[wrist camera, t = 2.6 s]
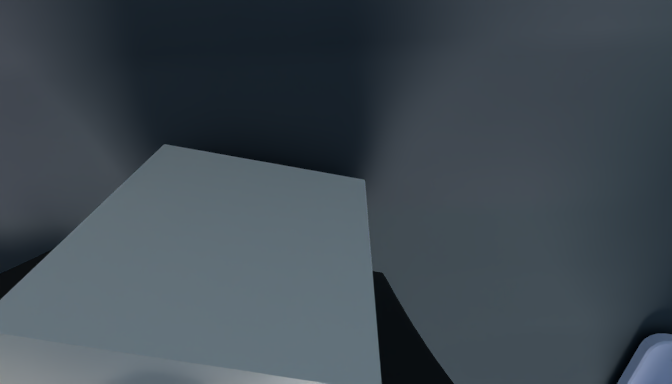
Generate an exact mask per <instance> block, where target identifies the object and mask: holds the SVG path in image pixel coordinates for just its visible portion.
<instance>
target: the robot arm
mask: <svg viewBox="0 0 672 384" xmlns="http://www.w3.org/2000/svg"><path fill="white" fill-rule="evenodd" d="M51 251H52V250H51ZM51 251H49V252H46V253H44V254H42V255H40V256H38V257H36V258H34V259H32V260H29V261H27V262H25V263H23V264H21V265H19V266H17V267H14V268H12V269H10V270H8V271H6V272H3V273H1V274H0V300H1V299H2V298H3V297H4V296H5V295H6V294H7V293H8V292H9V291H10V290H11V289H12V288H13V287H14V286H15V285H16V284H17V283H18V282H20V281H21V280H22V279H23V278H24V277H25V276H26V275H27V274H28V273H29V272H30V271H31V270H32V269H33V268H34V267H35V266H36V265H37V264H38V263H40V262H41V261H42V260H43V259H44V258H45V257H46V256H47V255H48V254H49V253H50V252H51ZM372 272H373V284H374V296H375V309H376V321H377V333H378V345H379V357H380V370H381V382H382V384H454V383H453V382H452V381H451V379H450V378H449V377H448V375H447V374H446V373H445V371H444V370H443V368H442V367H441V366H440V364H439V363H438V362H437V360H436V359H435V357H434V356H433V354H432V353H431V352H430V350H429V349H428V347H427V346H426V344H425V343H424V341H423V339H422V338H421V336H420V335H419V333H418V332H417V330H416V329H415V327H414V326H413V324H412V322H411V321H410V319H409V318H408V316H407V314H406V313H405V311H404V309H403V307H402V306H401V304H400V302H399V301H398V299H397V297H396V295H395V294H394V292H393V290H392V288H391V286H390V285H389V283H388V281H387V279H386V278H385V276H384V275H383V273H380V272H374V271H372ZM617 384H672V334H666V333H657V334H653V335H650V336H648V337H647V338H645V339H644V340H643V341H642V342H641V344H640V345H639V347H638V349H637V350H636V352H635V354H634V355H633V357H632V359H631V361H630V362H629V364H628V366H627V367H626V369H625V371H624V372H623V374H622V376H621V378H620V379H619V381H618V383H617Z"/></svg>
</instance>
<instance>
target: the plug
mask: <svg viewBox="0 0 672 384" xmlns="http://www.w3.org/2000/svg"><path fill="white" fill-rule="evenodd" d="M0 384H382V382H381V370H380V357H379V345H378V333H377V321H376V309H375V296H374V284H373V272H372V260H371V248H370V235H369V223H368V211H367V199H366V187H365V180H363V179H358V178H352V177H347V176H341V175H335V174H330V173H324V172H318V171H313V170H307V169H302V168H296V167H290V166H285V165H279V164H273V163H268V162H262V161H257V160H251V159H245V158H240V157H234V156H228V155H223V154H217V153H211V152H206V151H200V150H195V149H189V148H183V147H178V146H172V145H166V144H164V145H163V146H162V147H161V148H160V149H159V150H158V151H156V152H155V153H154V154H153V155H152V156H151V157H150V158H149V159H148V160H147V161H146V162H145V163H144V164H143V165H142V166H141V167H140V168H139V169H138V170H136V171H135V172H134V173H133V174H132V175H131V176H130V177H129V178H128V179H127V180H126V181H125V182H124V183H123V184H122V185H121V186H120V187H119V188H118V189H116V190H115V191H114V192H113V193H112V194H111V195H110V196H109V197H108V198H107V199H106V200H105V201H104V202H103V203H102V204H101V205H100V206H99V207H97V208H96V209H95V210H94V211H93V212H92V213H91V214H90V215H89V216H88V217H87V218H86V219H85V220H84V221H83V222H82V223H81V224H80V225H79V226H77V227H76V228H75V229H74V230H73V231H72V232H71V233H70V234H69V235H68V236H67V237H66V238H65V239H64V240H63V241H62V242H61V243H60V244H58V245H57V246H56V247H55V248H54V249H53V250H52V251H51V252H50V253H49V254H48V255H47V256H46V257H45V258H44V259H43V260H42V261H41V262H40V263H38V264H37V265H36V266H35V267H34V268H33V269H32V270H31V271H30V272H29V273H28V274H27V275H26V276H25V277H24V278H23V279H22V280H21V281H20V282H18V283H17V284H16V285H15V286H14V287H13V288H12V289H11V290H10V291H9V292H8V293H7V294H6V295H5V296H4V297H3V298H2V299H1V300H0Z"/></svg>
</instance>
